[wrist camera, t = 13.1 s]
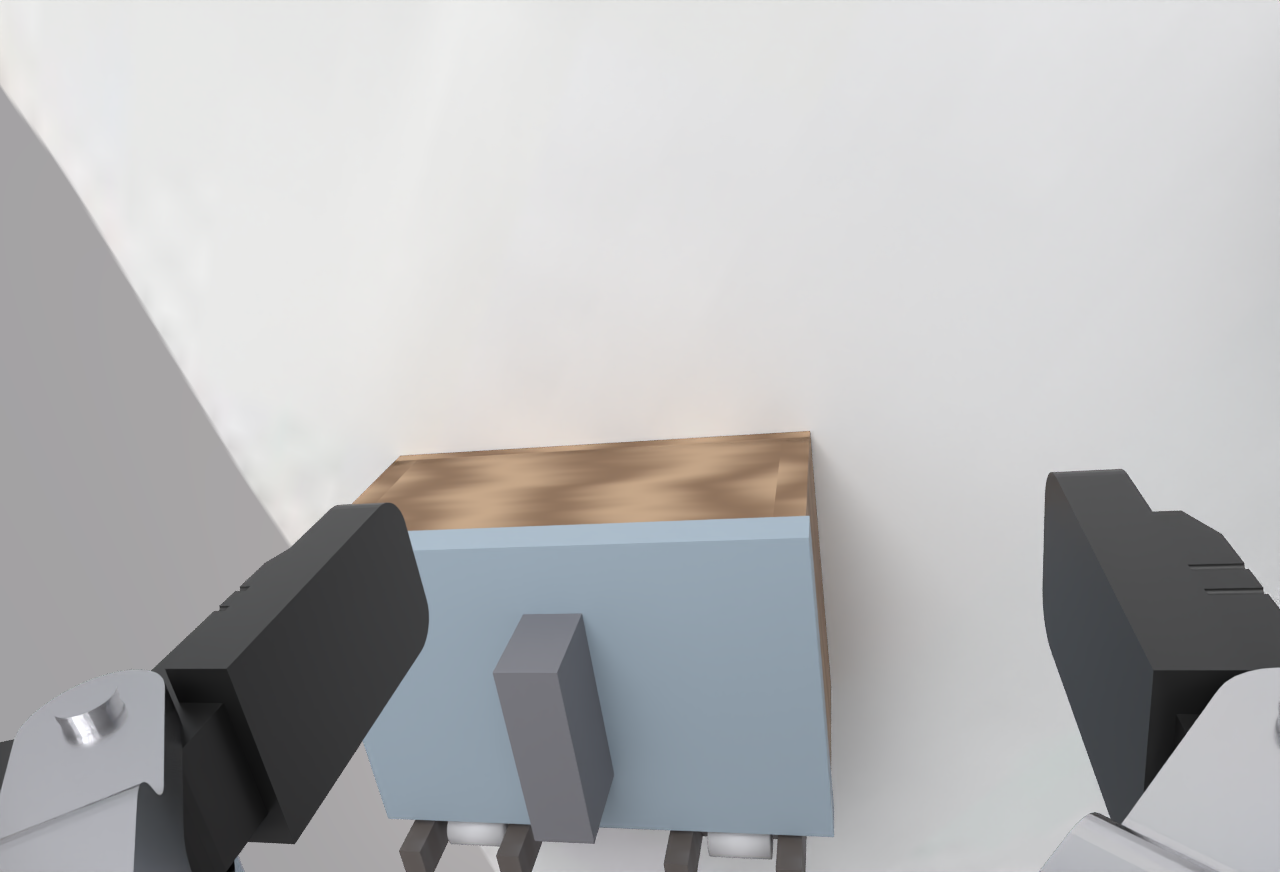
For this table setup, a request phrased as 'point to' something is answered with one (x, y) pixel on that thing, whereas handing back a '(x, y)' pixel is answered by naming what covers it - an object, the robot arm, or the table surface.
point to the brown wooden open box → (598, 494)
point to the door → (614, 685)
